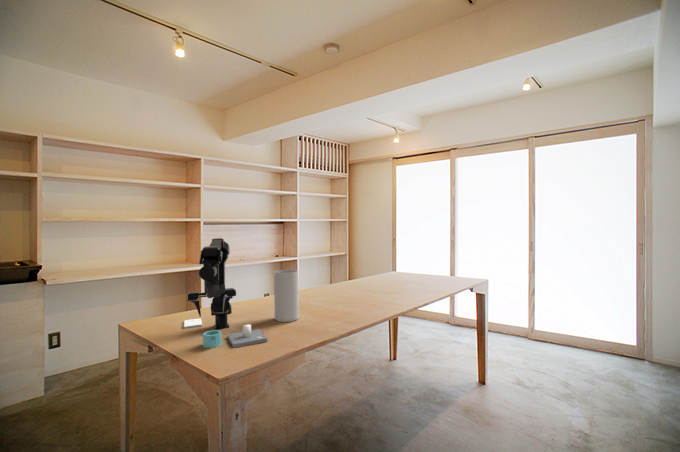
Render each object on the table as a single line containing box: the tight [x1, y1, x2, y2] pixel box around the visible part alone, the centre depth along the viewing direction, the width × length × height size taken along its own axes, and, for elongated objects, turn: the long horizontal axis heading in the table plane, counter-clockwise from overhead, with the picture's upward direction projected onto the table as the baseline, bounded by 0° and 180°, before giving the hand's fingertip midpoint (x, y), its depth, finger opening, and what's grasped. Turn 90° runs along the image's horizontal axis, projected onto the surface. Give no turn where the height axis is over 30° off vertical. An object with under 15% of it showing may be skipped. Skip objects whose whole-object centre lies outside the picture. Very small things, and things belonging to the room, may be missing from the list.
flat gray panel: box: [227, 324, 268, 349], centre depth 144 cm, size 14×14×6 cm
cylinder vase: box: [273, 269, 300, 323], centre depth 174 cm, size 12×12×25 cm
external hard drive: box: [183, 317, 203, 330], centre depth 168 cm, size 2×8×12 cm
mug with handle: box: [202, 329, 223, 349], centre depth 138 cm, size 8×7×5 cm
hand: (212, 315), depth 138 cm, fingers open, 9 cm apart
